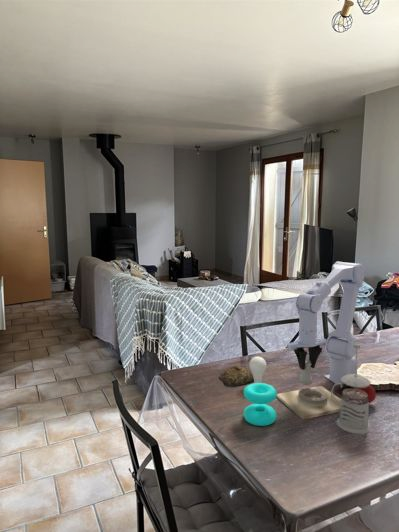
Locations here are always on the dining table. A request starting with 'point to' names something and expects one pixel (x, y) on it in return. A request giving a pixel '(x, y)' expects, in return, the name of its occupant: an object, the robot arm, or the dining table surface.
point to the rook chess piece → (306, 374)
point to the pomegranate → (369, 393)
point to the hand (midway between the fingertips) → (307, 367)
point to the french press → (352, 418)
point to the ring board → (307, 409)
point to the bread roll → (236, 376)
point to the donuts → (260, 404)
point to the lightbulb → (257, 368)
